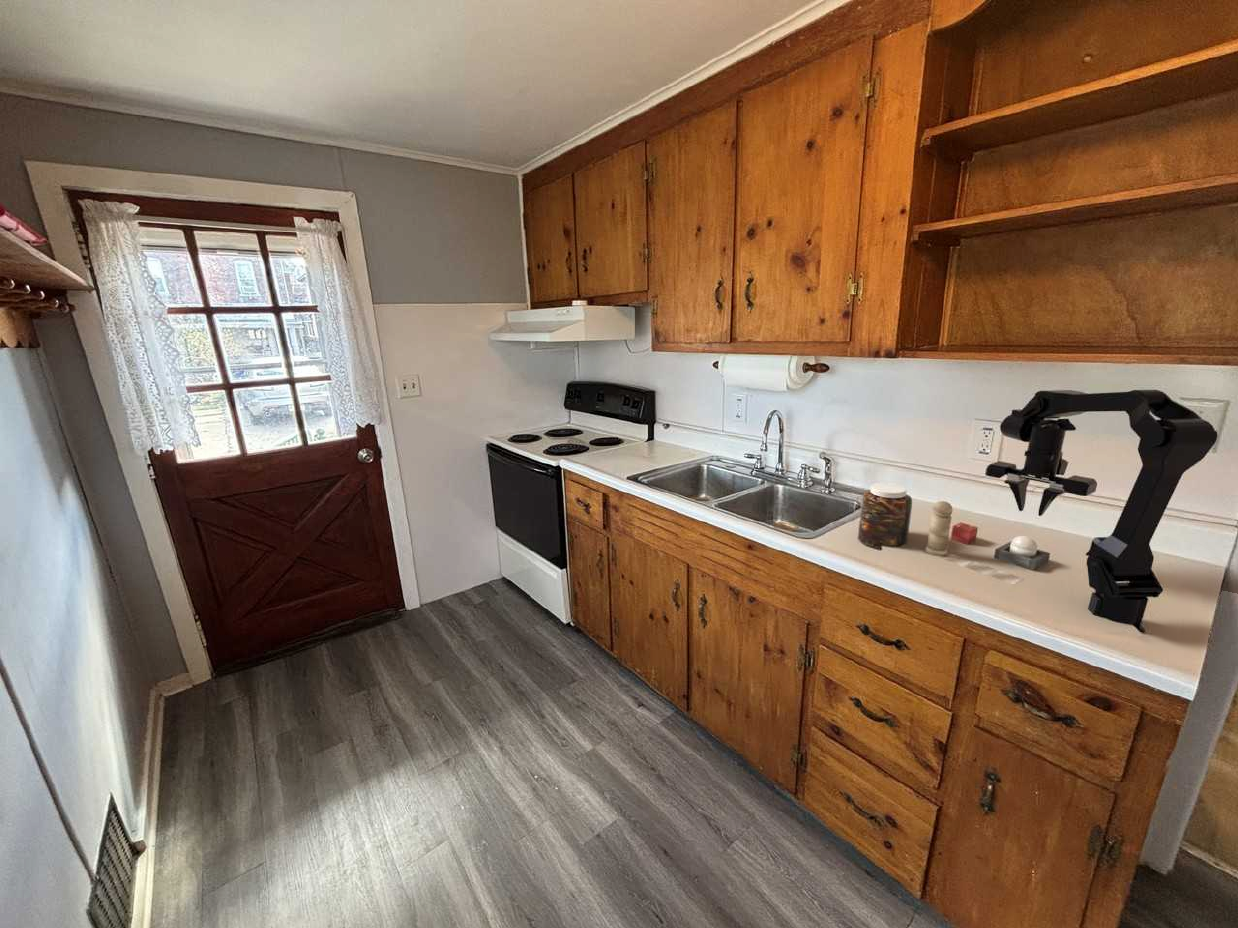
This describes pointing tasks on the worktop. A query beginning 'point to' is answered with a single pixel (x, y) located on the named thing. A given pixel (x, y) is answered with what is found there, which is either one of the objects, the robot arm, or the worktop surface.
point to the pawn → (939, 529)
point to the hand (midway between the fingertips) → (1030, 513)
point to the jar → (885, 516)
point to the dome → (1023, 546)
